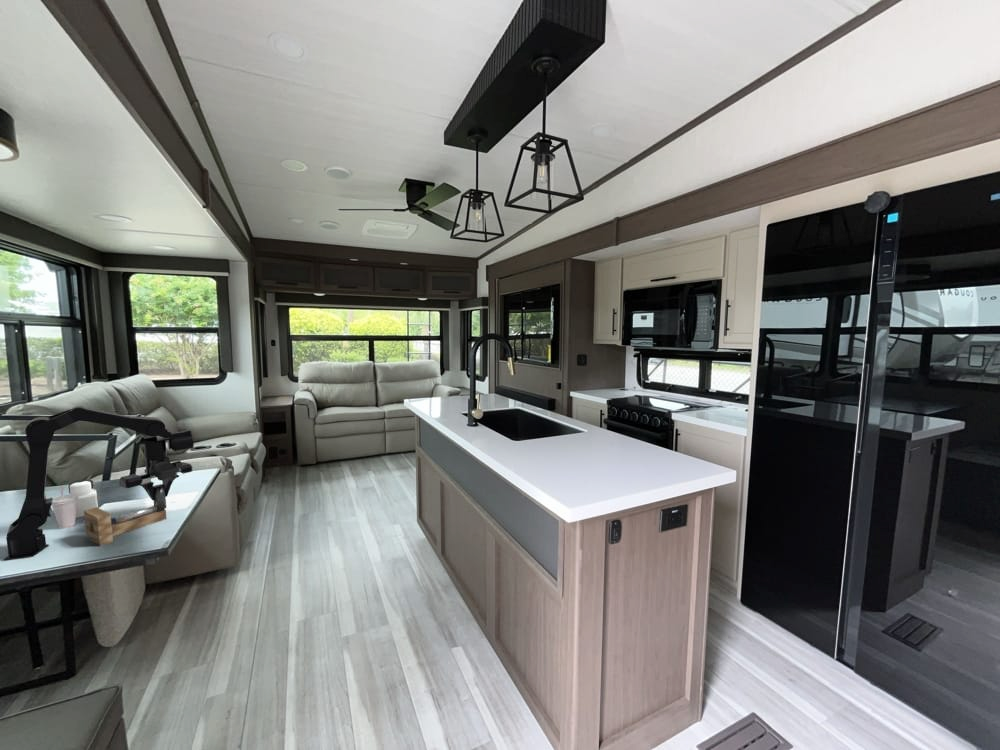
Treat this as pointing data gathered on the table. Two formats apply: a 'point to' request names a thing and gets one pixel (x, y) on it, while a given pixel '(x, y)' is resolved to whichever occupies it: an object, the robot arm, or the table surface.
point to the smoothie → (65, 509)
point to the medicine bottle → (83, 496)
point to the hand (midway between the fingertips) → (159, 498)
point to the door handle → (158, 505)
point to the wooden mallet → (102, 529)
